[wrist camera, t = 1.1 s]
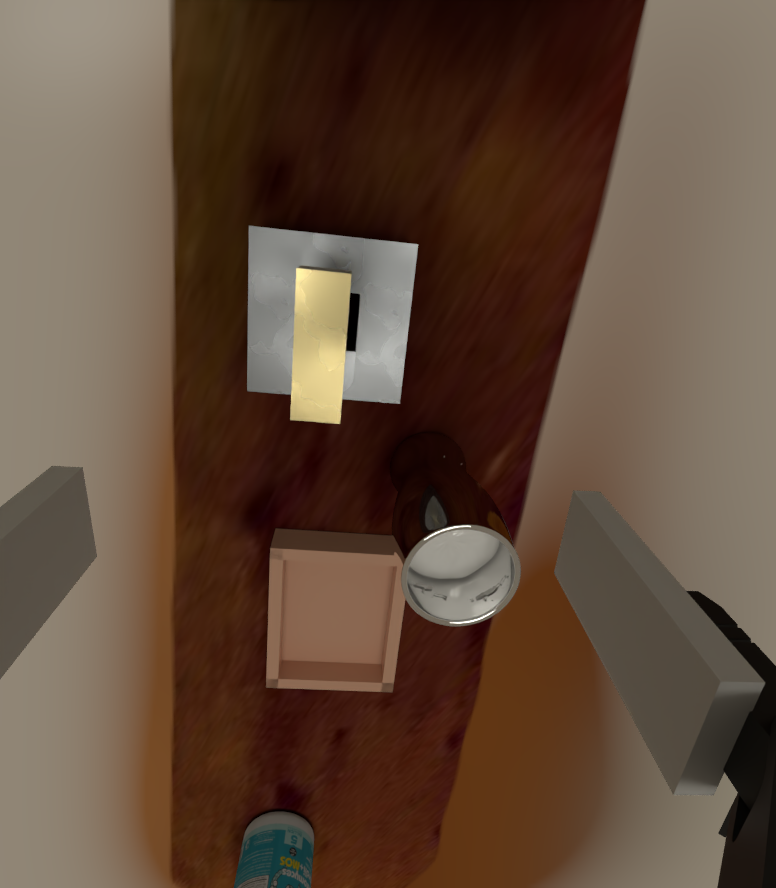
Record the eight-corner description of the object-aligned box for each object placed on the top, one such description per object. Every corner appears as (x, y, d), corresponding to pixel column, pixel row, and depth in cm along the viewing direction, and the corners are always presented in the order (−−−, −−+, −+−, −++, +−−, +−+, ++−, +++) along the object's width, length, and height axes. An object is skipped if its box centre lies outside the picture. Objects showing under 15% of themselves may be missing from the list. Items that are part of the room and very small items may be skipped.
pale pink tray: (275, 528, 44) (270, 548, 41) (407, 536, 45) (411, 556, 42) (271, 661, 49) (266, 687, 46) (390, 666, 50) (392, 692, 47)
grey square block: (262, 227, 36) (248, 225, 31) (410, 243, 37) (418, 244, 32) (260, 372, 39) (247, 391, 35) (394, 384, 40) (399, 403, 36)
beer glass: (462, 509, 44) (510, 633, 30) (379, 501, 44) (389, 625, 30) (477, 430, 42) (537, 527, 28) (389, 421, 41) (406, 515, 27)
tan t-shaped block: (318, 256, 37) (296, 267, 23) (353, 260, 37) (351, 273, 24) (313, 357, 39) (290, 419, 26) (345, 360, 39) (340, 423, 26)
